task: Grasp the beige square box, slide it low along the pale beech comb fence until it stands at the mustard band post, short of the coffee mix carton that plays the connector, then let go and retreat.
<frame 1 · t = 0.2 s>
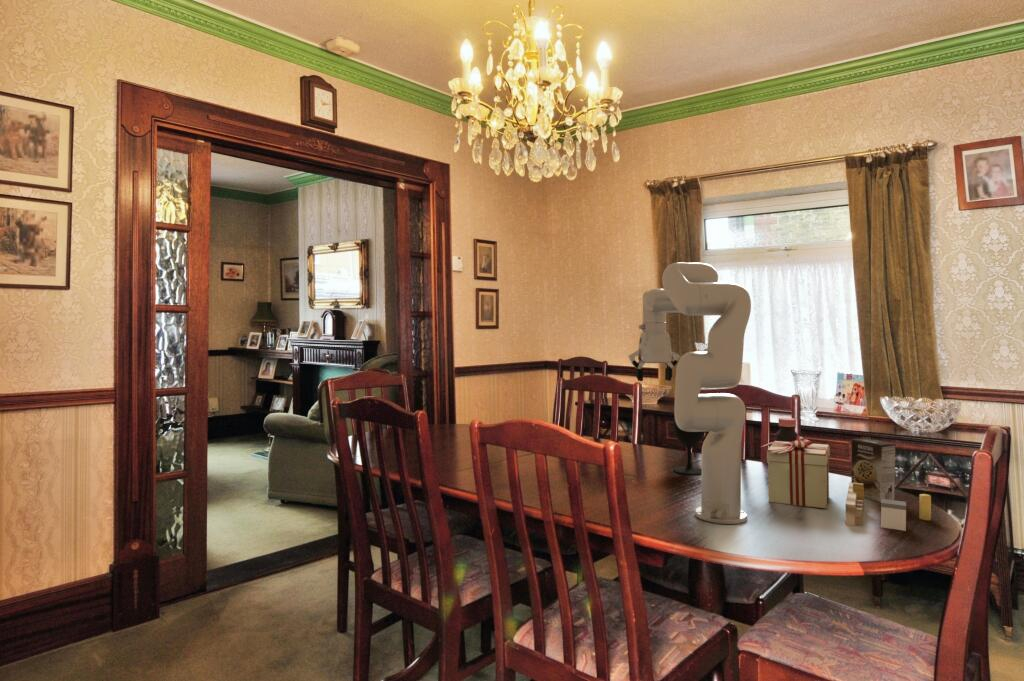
hand: (654, 380, 197), 31 cm above the table, tool pointing down, fingers open, 9 cm apart
coffee box: (872, 497, 171), on the table
band post: (925, 518, 151), on the table
comb fence: (851, 512, 157), on the table
wine glass: (689, 472, 202), on the table
gift box: (793, 500, 169), on the table
bottle: (786, 483, 187), on the table
beige square box: (893, 526, 146), on the table
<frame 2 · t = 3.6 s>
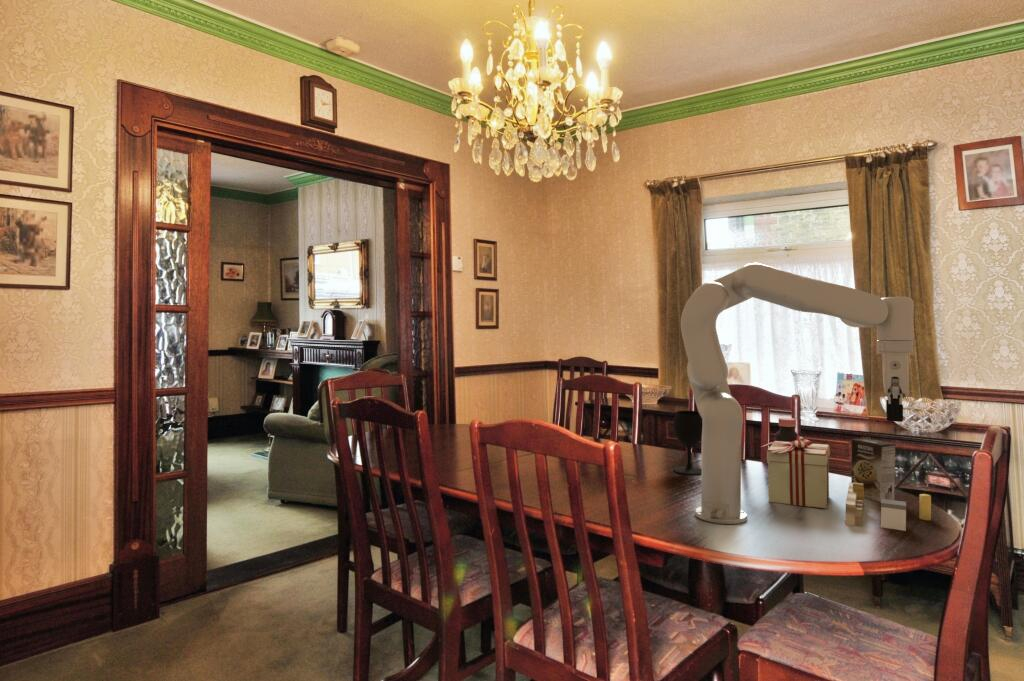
hand: (894, 418, 145), 26 cm above the table, tool pointing down, fingers open, 9 cm apart
nothing on the table moved.
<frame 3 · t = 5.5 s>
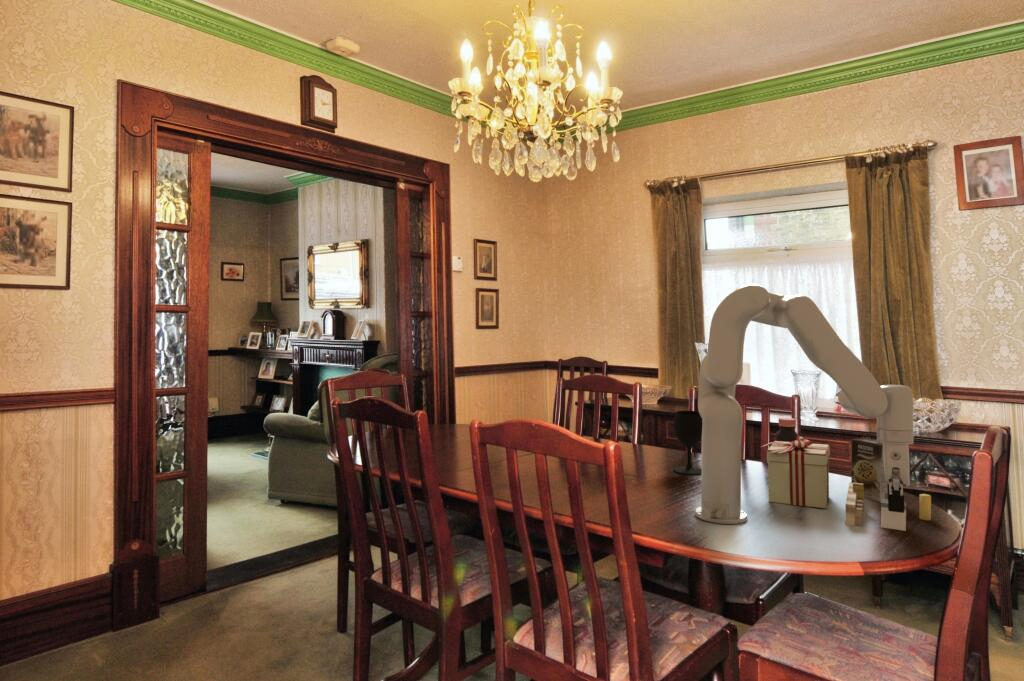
hand: (895, 506, 146), 5 cm above the table, tool pointing down, fingers open, 9 cm apart
nothing on the table moved.
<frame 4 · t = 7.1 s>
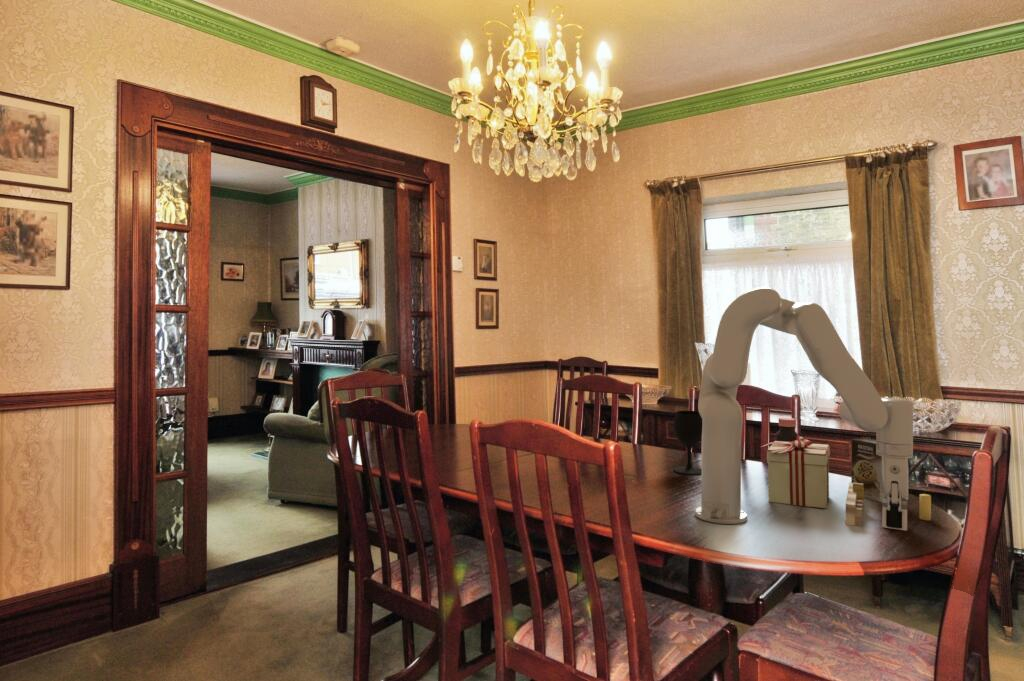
hand: (893, 523, 146), 1 cm above the table, tool pointing down, fingers closed on beige square box, 3 cm apart
beige square box: (894, 526, 146), on the table, touching gripper
everything else where it was.
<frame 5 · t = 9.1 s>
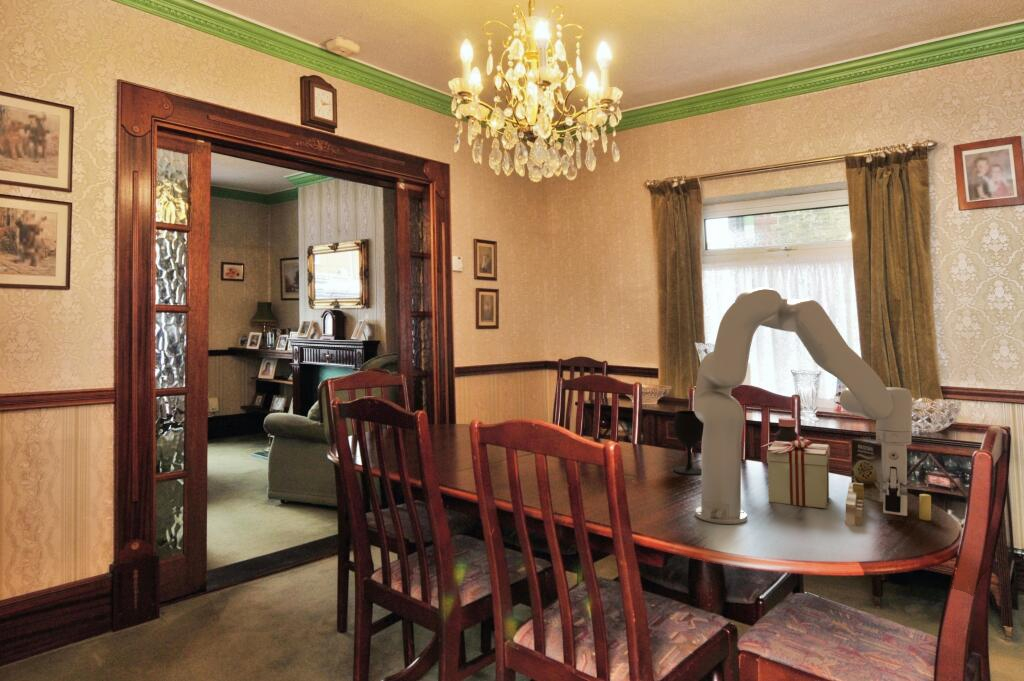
hand: (892, 508, 151), 3 cm above the table, tool pointing down, fingers closed on beige square box, 4 cm apart
beige square box: (894, 512, 151), point 2 cm above the table, touching gripper
everything else where it was.
when the fingers open (2 cm above the table, at t = 11.4 s): beige square box stays where it is, on the table.
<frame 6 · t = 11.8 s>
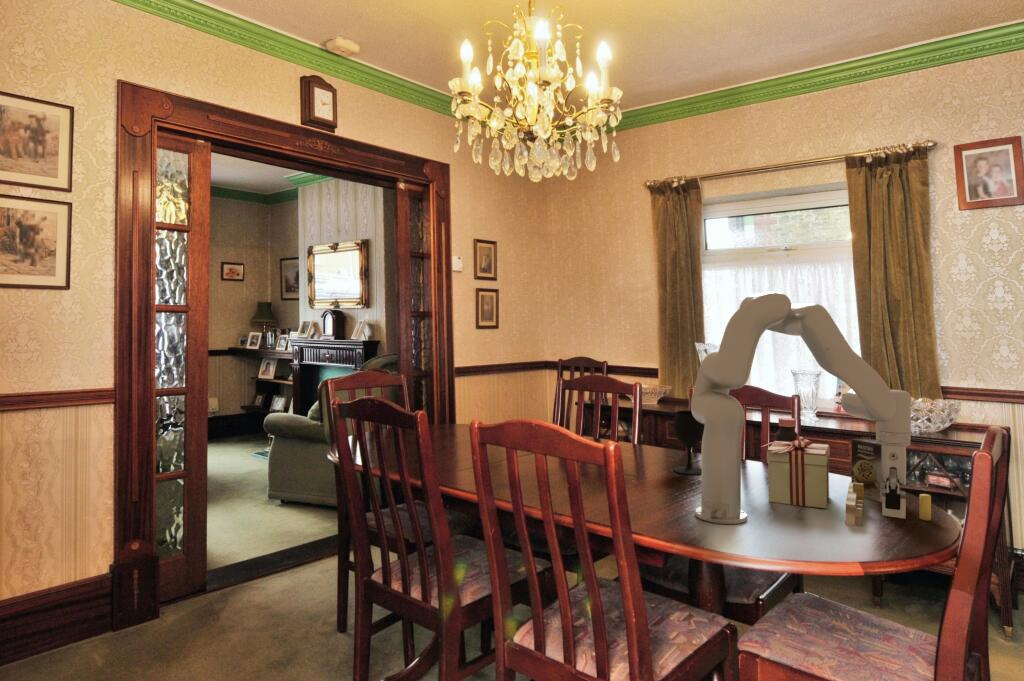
hand: (892, 504, 155), 3 cm above the table, tool pointing down, fingers open, 8 cm apart
beige square box: (893, 515, 155), on the table
everything else where it was.
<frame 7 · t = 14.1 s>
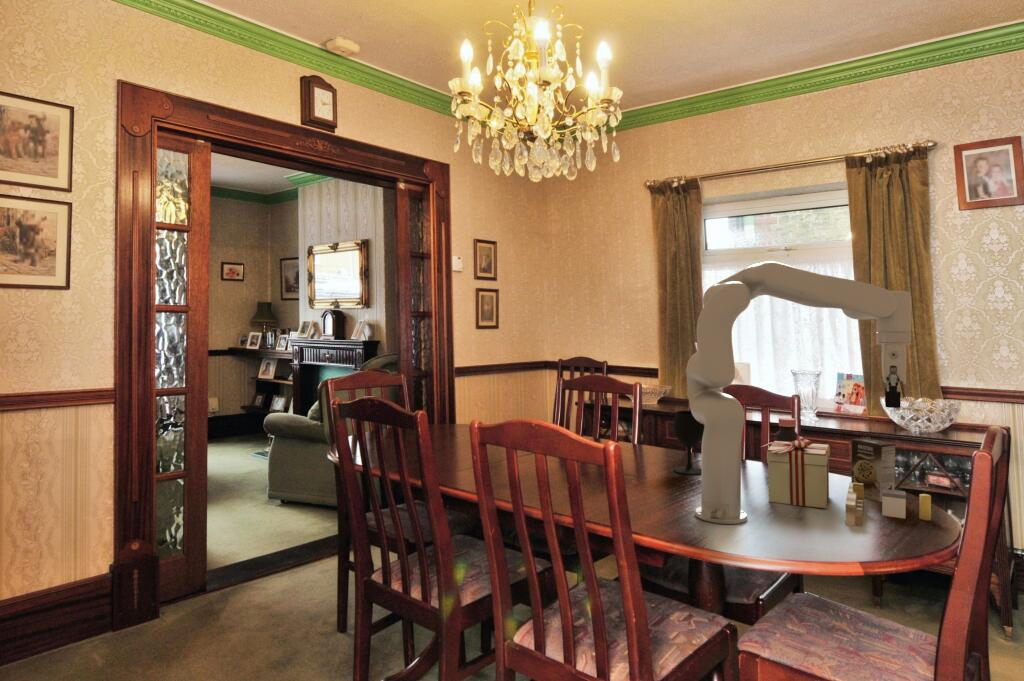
hand: (892, 405, 155), 28 cm above the table, tool pointing down, fingers open, 9 cm apart
nothing on the table moved.
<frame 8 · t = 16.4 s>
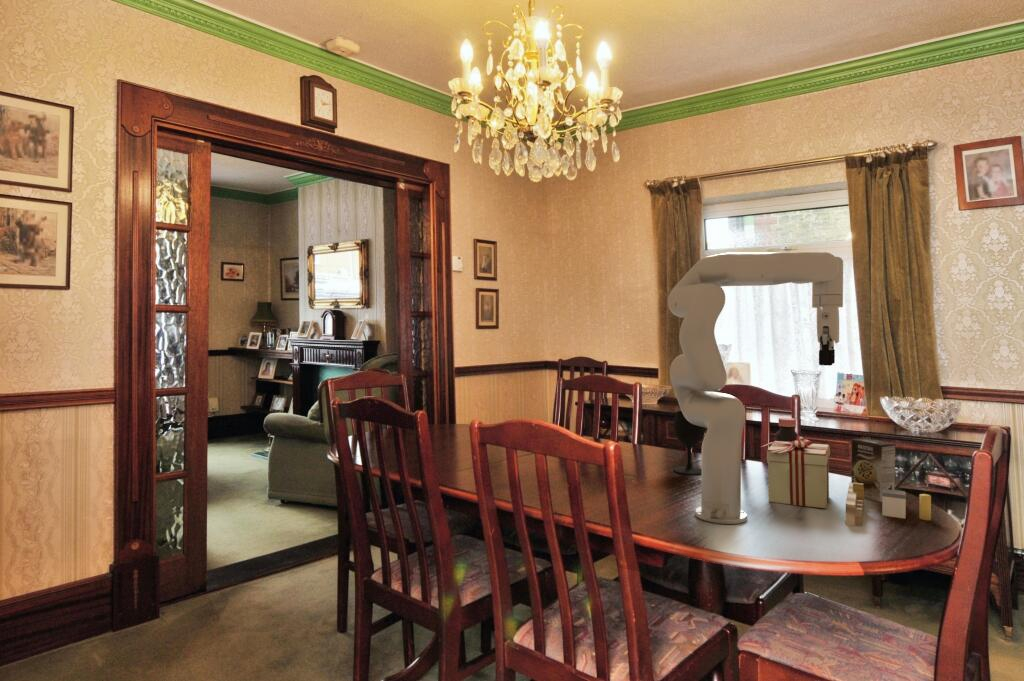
hand: (826, 364, 165), 38 cm above the table, tool pointing down, fingers open, 9 cm apart
nothing on the table moved.
at the end: beige square box inside the target area (0.3 cm from its centre), on the table; beige square box tilted 0°; the gripper is holding nothing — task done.
